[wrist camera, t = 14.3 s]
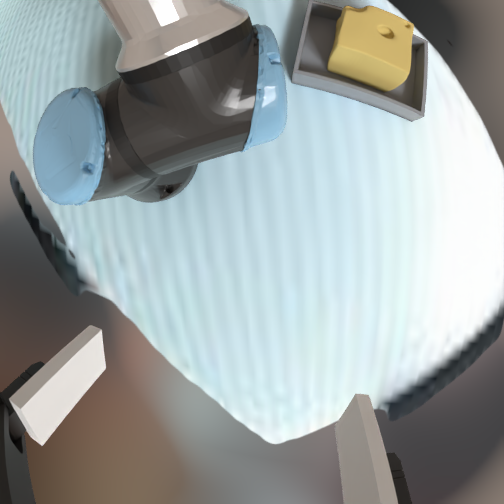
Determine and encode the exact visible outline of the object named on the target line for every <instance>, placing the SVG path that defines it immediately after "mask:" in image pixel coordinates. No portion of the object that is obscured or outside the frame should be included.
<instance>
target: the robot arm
mask: <svg viewBox="0 0 504 504" xmlns="http://www.w3.org/2000/svg"><path fill="white" fill-rule="evenodd" d="M98 1H99V3H100V5H101V7H102V8H103V10H104V12H105V13H106V15H107V17H108V19H109V20H110V22H111V24H112V25H113V27H114V29H115V31H116V32H117V34H118V36H119V37H120V39H121V41H122V48H121V51H120V53H119V56H118V59H117V62H116V65H115V68H116V70H117V72H118V73H119V75H120V76H121V77H120V78H119V79H117V80H115V81H113V82H111V83H110V84H108V85H106V86H104V87H103V88H101V89H99V90H97V91H94V92H93V91H91V90H90V89H88V88H82V87H81V88H71V89H68V90H65V91H63V92H61V93H60V94H59V95H57V96H56V97H55V98H54V99H53V100H52V101H51V103H50V104H49V105H48V107H47V108H46V110H45V111H44V113H43V115H42V117H41V119H40V122H39V124H38V128H37V132H36V135H35V139H34V146H33V164H34V171H35V175H36V179H37V181H38V184H39V186H40V188H41V190H42V191H43V193H44V194H45V195H47V196H48V198H49V199H50V200H51V201H53V202H55V203H57V204H60V205H71V204H74V205H83V204H85V203H86V202H90V201H95V200H100V199H106V198H112V197H118V196H124V195H127V196H129V197H131V198H133V199H135V200H137V201H141V202H159V201H163V200H167V199H169V198H172V197H174V196H175V195H177V194H178V193H180V192H181V191H182V190H183V189H184V188H185V187H186V186H187V185H188V184H189V182H190V181H191V179H192V177H193V176H194V174H195V171H196V169H197V165H198V163H201V162H204V161H207V160H210V159H214V158H217V157H220V156H224V155H227V154H231V153H234V152H238V151H240V152H244V151H245V150H248V149H249V148H250V147H253V146H256V145H259V144H263V143H266V142H269V141H272V140H274V139H276V138H277V137H278V136H279V135H280V134H281V133H282V132H283V130H284V128H285V125H286V120H287V92H286V83H285V75H284V70H283V66H282V64H281V62H280V60H281V59H280V53H279V47H278V44H277V41H276V38H275V36H274V33H273V32H272V30H271V29H270V28H269V27H268V26H266V25H259V24H256V25H253V26H252V23H251V20H250V17H249V14H248V11H247V10H245V9H243V8H240V7H238V6H236V5H233V4H231V3H229V2H227V1H225V0H98ZM105 369H106V365H105V357H104V349H103V340H102V330H101V329H99V328H96V327H94V326H92V325H90V326H88V327H87V328H86V329H85V330H84V331H83V332H82V333H80V334H79V335H78V336H77V337H76V338H75V339H73V340H72V341H71V342H70V343H69V344H68V345H66V346H65V347H64V348H63V349H62V350H61V351H60V352H59V353H57V354H56V355H55V356H54V357H53V358H52V359H51V360H50V361H49V362H47V363H46V364H44V363H42V362H38V363H35V364H33V365H31V366H30V367H29V368H28V369H27V370H25V372H23V373H22V374H21V375H20V377H18V378H17V379H15V380H14V381H13V382H12V383H11V384H10V385H9V386H8V387H7V388H6V389H5V390H4V391H3V392H1V393H0V504H36V502H35V498H34V494H33V489H32V484H31V479H30V474H29V467H28V461H27V452H26V443H25V435H24V432H25V431H26V430H27V432H28V433H29V435H30V436H31V438H33V439H34V440H35V441H37V442H38V443H39V444H41V445H44V443H45V442H46V440H47V439H48V438H49V437H50V436H51V434H52V433H53V432H54V430H55V429H56V428H57V427H58V425H59V424H60V423H61V422H62V420H63V419H64V418H65V417H66V415H67V414H68V413H69V412H70V411H71V409H72V408H73V407H74V406H75V404H76V403H77V402H78V401H79V400H80V398H81V397H82V396H83V395H84V393H85V392H86V391H87V390H88V389H89V388H90V386H91V385H92V384H93V383H94V382H95V380H96V379H97V378H98V377H99V376H100V374H101V373H102V372H103V371H104V370H105ZM335 433H336V440H337V448H338V455H339V463H340V471H341V480H342V490H343V499H344V500H343V501H344V504H412V502H411V498H410V494H409V491H408V486H407V483H406V479H405V478H404V476H405V475H404V472H403V471H402V470H403V468H402V465H401V461H400V460H399V458H398V457H397V456H396V454H395V453H386V451H385V448H384V444H383V441H382V437H381V434H380V430H379V427H378V423H377V420H376V417H375V414H374V410H373V407H372V404H371V401H370V398H369V395H364V394H355V396H354V397H353V399H352V401H351V402H350V404H349V405H348V407H347V409H346V410H345V412H344V413H343V415H342V416H341V418H340V419H339V421H338V422H337V424H336V425H335Z"/></svg>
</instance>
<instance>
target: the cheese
mask: <svg viewBox="0 0 504 504" xmlns="http://www.w3.org/2000/svg"><path fill="white" fill-rule="evenodd" d="M413 28H414V25H413V24H412V23H410V22H408V21H406V20H404V19H402V18H400V17H398V16H396V15H394V14H392V13H389V12H387V11H384V10H382V9H379V8H377V7H374V6H366V7H364V8H361V9H357V8H353V7H350V6H345V7H344V8H343V10H342V14H341V17H339V19H338V20H337V23H336V32H335V40H334V44H333V48H332V51H331V53H330V56H329V59H328V65H327V70H328V71H330V72H333V73H336V74H339V75H342V76H344V77H347V78H350V79H352V80H355V81H358V82H361V83H363V84H366V85H369V86H371V87H374V88H376V89H378V90H381V91H383V92H387V91H390V90H393V89H395V88H396V87H398V86H399V85H401V84H402V83H403V82H404V81H405V80H406V79H407V77H408V75H409V73H410V67H411V48H412V36H413Z"/></svg>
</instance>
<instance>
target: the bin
mask: <svg viewBox="0 0 504 504" xmlns="http://www.w3.org/2000/svg"><path fill="white" fill-rule="evenodd" d="M342 10H343V8H341V7H337V6H334V5H330V4H325V3H321V2H317V1H312V0H309V3H308V7H307V12H306V16H305V21H304V25H303V29H302V34H301V38H300V43H299V47H298V52H297V56H296V61H295V65H294V70H293V76H292V83H294V84H298V85H303V86H307V87H311V88H315V89H319V90H323V91H326V92H330V93H334V94H337V95H340V96H344V97H347V98H350V99H353V100H356V101H359V102H362V103H365V104H368V105H371V106H374V107H377V108H379V109H382V110H385V111H387V112H390V113H392V114H395V115H397V116H400V117H402V118H404V119H407V120H409V121H411V122H412V121H414V120H417V119H420V118H422V117H424V112H425V102H426V89H427V67H428V41H426V40H424V39H422V38H420V37H418V36H416V35H414V34H413V36H412V48H411V67H410V73H409V75H408V77H407V79H406V80H405V81H404V82H403V83H402V84H401V85H399V86H398V87H396V88H395V89H393V90H390V91H387V92H383V91H381V90H378V89H376V88H374V87H371V86H369V85H366V84H363V83H361V82H358V81H355V80H352V79H350V78H347V77H344V76H342V75H339V74H336V73H333V72H330V71H328V70H327V65H328V59H329V56H330V53H331V51H332V48H333V44H334V40H335V32H336V23H337V20H338V19H339V17H341V14H342Z"/></svg>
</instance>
